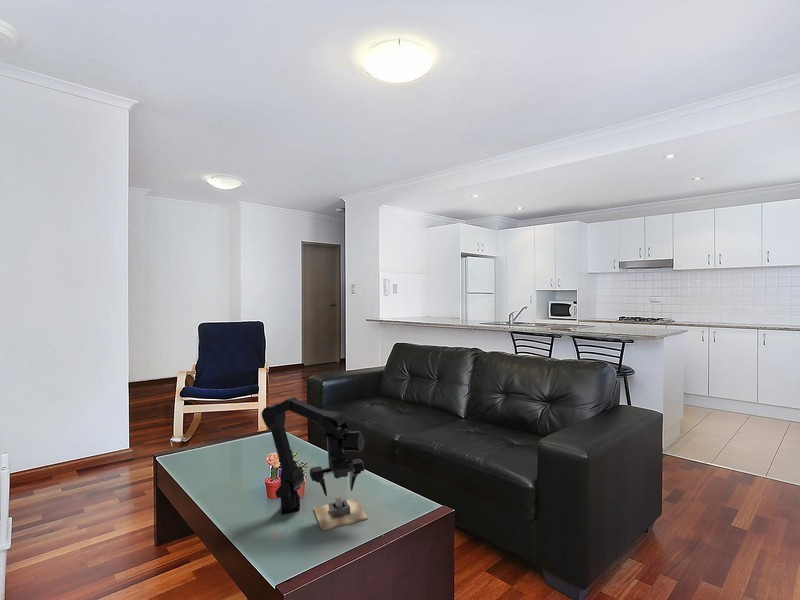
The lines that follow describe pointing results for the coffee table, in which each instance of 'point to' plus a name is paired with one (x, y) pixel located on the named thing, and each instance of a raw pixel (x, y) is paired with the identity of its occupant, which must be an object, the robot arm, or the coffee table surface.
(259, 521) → the coffee table surface
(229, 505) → the coffee table surface
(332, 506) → the collar
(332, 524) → the wooden peg base
